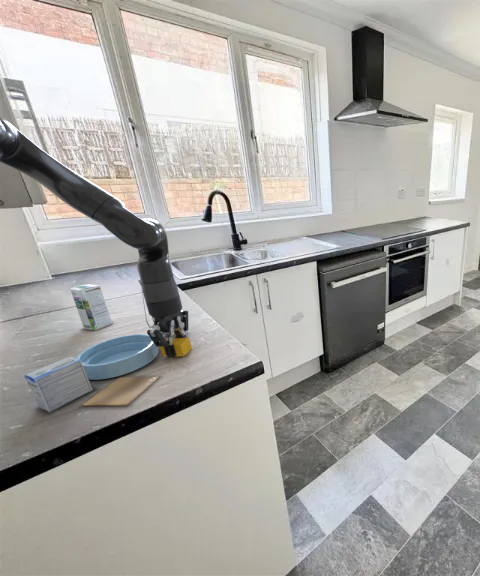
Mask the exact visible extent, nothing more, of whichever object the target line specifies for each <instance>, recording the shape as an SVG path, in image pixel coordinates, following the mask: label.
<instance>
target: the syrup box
mask: <svg viewBox="0 0 480 576" xmlns="http://www.w3.org/2000/svg"><path fill="white" fill-rule="evenodd" d="M69 291H70V294H71V296H72V299H73V301H74V305H75V307H76V310H77V314H78V316H79V318H80V322H81V324H82V327H83V328H84V329H85V330H89V331H94V332H95V331H98V330H100V329H102V328H106V327H107V326H110V325H113V321H112V318H111V314H110V311H109V309H108V305H107V303H106V299H105V295H104V293H103V290H102V288H101V285H100V284H97V285H96V284H90V283H88V284H82V285H78V286H74V287H71V288H69Z"/></svg>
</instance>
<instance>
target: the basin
mask: <svg viewBox="0 0 480 576" xmlns="http://www.w3.org/2000/svg"><path fill="white" fill-rule="evenodd" d="M158 348H159V347H156V345H155V344H154V343H153V341H152V340H151V338H150V337H149V335H148V334H147V333H134V334H133V333H132V334H126V335H121V336H117V337H113V338H110V339H107V340H104V341H100V342H98V343H96V344H94V345H92V346H90V347H88V348H86V349H84V350H82V351H81V353H79V354H78V355H77V356H76V358H75V359H78V360H81V362H82V365H83V367H84V370H85V372H86V375H87V378H88V380H89V381H91V380H93V381H95V380H96V381H97V380H106V379H111V378H116V377H121V376H124V375H126V374H129V373H132V372H134V371H136V370H139V369H141V368H144V366H147V365H148V364H149V363H151V362H152V361H153V360H155V358H156V357H157V356H158V354H159V349H158Z"/></svg>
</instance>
